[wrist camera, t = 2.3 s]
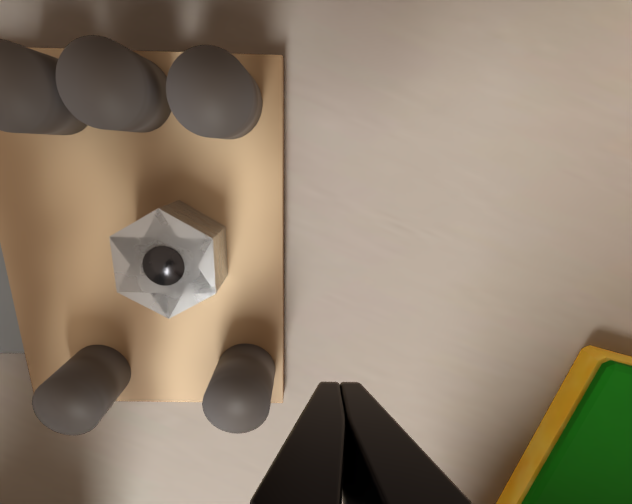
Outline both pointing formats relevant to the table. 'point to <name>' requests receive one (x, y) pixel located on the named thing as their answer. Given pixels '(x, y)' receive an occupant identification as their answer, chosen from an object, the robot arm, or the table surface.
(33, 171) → the board
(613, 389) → the dish sponge
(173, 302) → the hexagonal star candle holder
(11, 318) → the mat
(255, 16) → the table surface
